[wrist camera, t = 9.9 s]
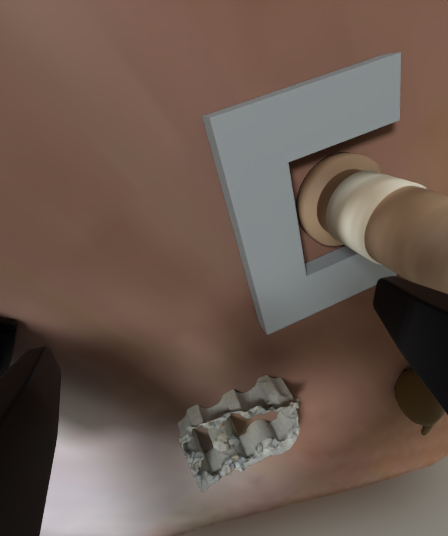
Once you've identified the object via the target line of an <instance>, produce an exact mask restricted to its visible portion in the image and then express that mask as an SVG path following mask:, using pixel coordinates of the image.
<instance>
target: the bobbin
mask: <svg viewBox="0 0 448 536" xmlns="http://www.w3.org/2000/svg"><path fill="white" fill-rule="evenodd" d="M296 213H297V219H298V222H299V224H300V226H301V228H302V229H303V230H304V232H305V233H307V234H308V235H309V236H311V237H312V238H314V239H315V240H317V241H318V242H320V243H322V244H324V245H328V246H339V245H345V246H347V247H349V248H350V249H352V250H354V251H355V252H357V253H359V254H360V255H362V256H364V257H365V258H367V259H368V260H370V261H372V262H373V263H376V264H380V265H384V266H385V267H387V268H389V269H390V270H392V271H394V272H395V273H397V274H399V275H400V276H402V277H404V278H405V279H407V280H409V281H411V282H414V283H417V284H420V285H423V286H426V287H429V288H432V289H435V290H438V291H441V292H444V293H447V294H448V195H445V194H442V193H438V192H435V191H431V190H428V189H427V188H426V187H424V186H423V185H420V184H418V183H414V182H410V181H407V180H403V179H400V178H396V177H393V176H389V175H385V174H382V171H381V169H380V167H379V166H378V165H377V163H376V162H374V161H373V160H372V159H370V158H369V157H366V156H363V155H359V154H354V153H350V152H339V153H335V154H332V155H329V156H327V157H325V158H324V159H322V160H321V161H319V162H318V163H317V164H316V165H315V166H314V167H313V168H312V169H311V170H310V171H309V172H308V174H307V175H306V177H305V178H304V180H303V182H302V184H301V186H300V189H299V192H298V195H297V200H296Z"/></svg>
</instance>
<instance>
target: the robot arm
mask: <svg viewBox="0 0 448 536" xmlns="http://www.w3.org/2000/svg"><path fill="white" fill-rule="evenodd" d="M373 306H374V309H375V311H376V312H377V314H378V316H379V317H380V319H381V321H382V322H383V324H384V326H385V327H386V329H387V331H388V332H389V334H390V335H391V337H392V339H393V340H394V342H395V344H396V345H397V347H398V348H399V350H400V352H401V353H402V354H403V356H404V357H405V359H406V360H407V361H408V363H409V364H410V365H411V367H412V368H413V369H414V371H415V372H416V373H417V375H418V376H419V377H420V379H421V380H422V381H423V383H424V384H425V385H426V387H427V388H428V389H429V391H430V392H431V393H432V395H433V396H434V397H435V399H436V400H437V401H438V403H439V404H440V405H441V407H442V408H443V409H444V411H445V412H446V413H447V415H448V294H447V293H444V292H441V291H438V290H435V289H432V288H429V287H426V286H423V285H420V284H417V283H414V282H411V281H408V280H405V279H402V278H399V277H396V276H387V277H382V278H380V279H378V281H377V283H376V288H375V293H374V298H373ZM6 326H8V327H10V328H11V329H8V330H7V329H5V328H4V327H6ZM17 328H18V324H17V323H16V322H15V321H14V320H11V319H4V318H0V536H39V535H40V530H41V524H42V519H43V513H44V508H45V502H46V496H47V491H48V485H49V480H50V474H51V469H52V463H53V458H54V452H55V447H56V440H57V433H58V420H59V403H60V386H61V371H60V368H59V365H58V363H57V361H56V359H55V357H54V355H53V353H52V351H51V349H50V347H49V346H46V345H44V346H39V347H34V348H31V349H29V350H28V351H26V352H25V353H24V354H23V355H22V356H21V357H20V358H19V359H18V360H17V361H16V362H15V363H14V364H13V365H12V366H11V367H10V363H11V358H12V353H13V348H14V343H15V338H16V333H17Z"/></svg>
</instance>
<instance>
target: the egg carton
mask: <svg viewBox="0 0 448 536" xmlns="http://www.w3.org/2000/svg"><path fill="white" fill-rule="evenodd" d="M299 405H300V401H299V399H298V398H297V400H296V399H294V398H293V396H292V394H291V393H290V391H289V389H288V388H287V386H286V385H285V383H284V382H283V380H282V378H271V377H269V375H265V376H262V377H260V378H258V379H257V383H256V385H255V386H254V387H253V388H252V389H251V390H249V391H248V392H245V393H238V392H236V391H235V390H234V389H232V390H230V391H229V392H227V393H225V394H223V396H222V399H221V401H220V402H219V403H218V404H217V405H215V406H214V407H211V408H202V407H200V406H199V405H195V406H192V407H190V408H189V409H187V413H186V416H185V417H184V418H183V419H182V420H181V421H179V422H178V423H177V424H178V427H179V431H180V435H181V438H179V442H180V445H181V447H182V449H183V452H184V454H185V456H186V459H187V462H188V464H189V466H190V469H191V471H192V473H193V476H194V478H195V480H196V482H197V484H198V486H199V488H200V489H201V491H202V492H204V491H205V490H206V489H208V488H209V487H210V486H211V485H212V484H213V483H215V482H216V481H219V480H220V478H221V477H222V476H225V475H231V474H232V470H238V471H241V472H243V471H244V470H245V469H246V468H247V467H248V466H250V465H251V464H254V463H257V462H259V461H261V460H262V459H263V458H265V457H268V456H271V455H276V454H281V453H284V452H286V451H288V450H289V449H290V448H291V447H292V445H293V444H294V442H295V440H296V439H297V437H298V435H299V429H300V428H299V424H298V420H299V417H298V414H297V410H296V408H299ZM270 411H276V412H278V411H280V412H279V413H278V416H277V419H276V420H274V421H272V422H269V423H268V422H267V421H266V420H264V419H260V420H256V421H254V422H253V423H251V424H250V425H249V426H248V428H247V431H246V433H245V434H244V435H241V436H238V434H237V432H236V429H235V427H234V425H233V422H232V420H231V418H230V416H231V413H238V414H240V415H241V416H243V417H245V418H247V419H251V418H252V417H253V415H257V414H262V415H264V414H265V413H267V412H270ZM199 426H203V427H204V428H207V430H208V432H209V435H210V438H211V441H212V444H213V447H214V448H213V449H211V450H209V451H207V452H204V451H203V450H201V447H200V443H199V440H198V437H197V433H196V431H195V430H194V428H197V427H199Z"/></svg>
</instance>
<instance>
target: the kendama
mask: <svg viewBox="0 0 448 536" xmlns="http://www.w3.org/2000/svg"><path fill="white" fill-rule="evenodd" d="M395 398H396V400H397V402H398V405H399V407H400V408H401V410H402V411H403V412H404V414H405V415H406V416H407V417H408V418H410V419H411V420H412V421H413V422H415V423H417V424H420V425H423V427H422V430H421V433H422V435H426V434H427V433H428V432H429V431H430V429H431V428H432V426H433V425H434V424H435V423H436V422H437V421H438V420H439V419H440V418H441V417H442V416H443V414H444V413H445V411H444V409H443V408H442V407H441V405H440V404H439V403H438V401H437V400H436V399H435V397H434V396H433V395H432V393H431V392H430V391H429V389H428V388H427V387H426V385H425V384H424V383H423V381H422V380H421V379H420V377H419V376H418V375H417V373H416V372H415V371H414V370H413V369H409V370H406V371H404V372H402V373H401V375H400V377H399V378H398V380H397V382H396V385H395Z"/></svg>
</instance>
